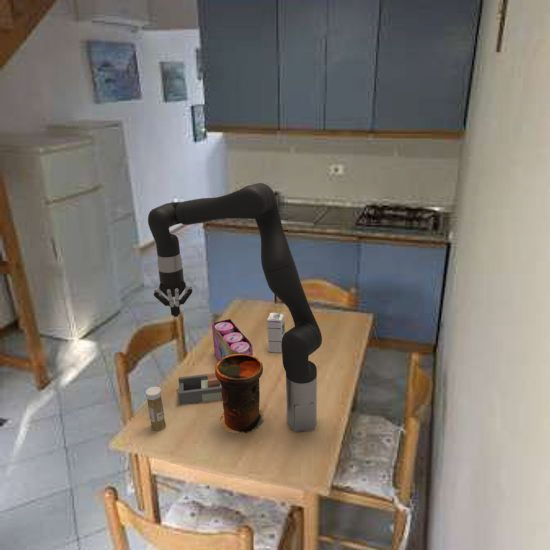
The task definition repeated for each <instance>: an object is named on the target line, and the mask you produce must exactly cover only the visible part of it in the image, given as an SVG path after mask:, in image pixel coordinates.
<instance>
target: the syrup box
mask: <svg viewBox="0 0 550 550" xmlns="http://www.w3.org/2000/svg"><path fill="white" fill-rule="evenodd" d="M285 325H286V324H285V314H284V313H280V312H270V313H269V315H268V316H267V319H266V329H267V344H268V345H267V346H268V352H270V353H276V354H277V353H279V354H282V347H281V342H282V337H283V335H284V334H285V333H286V327H285Z"/></svg>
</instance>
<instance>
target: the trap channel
mask: <svg viewBox="0 0 550 550" xmlns="http://www.w3.org/2000/svg"><path fill="white" fill-rule="evenodd" d="M214 373H215V372H212V373H210V374H214ZM207 374H208V373H203V374H194V375H187V376H180V377H179V376H178V392H177V393H178V402H179V405H180V406H182V405H190V404H197V403H205V402H214V400H215V401H220V400H221V399H222V393H221V388H222V386H221V384H220V386H219V387H211V388H208V378H207ZM221 401H222V400H221Z"/></svg>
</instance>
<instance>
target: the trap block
mask: <svg viewBox="0 0 550 550" xmlns="http://www.w3.org/2000/svg"><path fill="white" fill-rule="evenodd" d="M213 373H214V374H211V373H206V374H207V378H208V388H211V387H219V386H220V381H219V380H218V379H217V378H216V375H215V372H213Z"/></svg>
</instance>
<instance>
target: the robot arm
mask: <svg viewBox="0 0 550 550" xmlns="http://www.w3.org/2000/svg"><path fill="white" fill-rule="evenodd" d="M278 206H279V205H278V202H277V198H276V195H275V192H274V190H273V189H272V188H271V187H270V186H269V185H268V184H267V183H263V182H258V183H252V184H249V185H246V186H243V187H242V188H240V189H237V190H236V191H235V190H234V191H232V192H230V193H228V194H225V195H221V196H215V197H204V198H203V197H202V198H201V197H200V198H195V199H190V200H186V201H174V202H168V203H164V204H161V205H159V206H157V207H155V208H153V209H151V210H149V213H148V216H147V223H148V228H149V230H150V233H151V234H152V237H153V240H154V241H155V246H156V253H157V259H156V261H157V269H158V276H159V286H158V288H157V289H155V290H153V296H154V298H155V299H157V300H158V301H159V302H160V303H161V304H162V305H163V306H165V307H169V308H170V314H171V316H173V317H174V318H176V317H179V316H180V314H181V309H180V306H181V305H183V306H184V304H185V303H186V301H187V300H188V299H189V298H190V296H191V294H192V293H193V287H192V286H188V285H187V282H185V277H184V269H183V260H182V255H181V248H180V241H179V237H178V236H177V234H173V233H171V232H170V228H171V227H173V226H176V225H180V224H181V225H183V226H184V225H185V226H189V225H195V224H201V223H203V224H204V223H206V222H211V221H217V220H223V219H248V220H249V219H250V220H255V223H256V225H257V228H258V232H259V237H260V263H261V267H262V271H263V274H264V278H265V280H266V283H267V287H268V288H269V290H270V291H271V292H272V293H273V294H274V296H275V297H277V298H278V299H279V300H280V301H281V302H282V303H283V304H284V305H285V306H286V308H287V309H288V311H289V312H290V315H291V318H292V321H293V323H294V326H293V327H292V328H290V329H288V331H285V334H284V335H283V337H282V342H281V347H282V353H281V357H282V366H283V368H284V371H285V391H286V393H285V394H286V396H285V397H286V398H285V399H286V402H285V403H286V423H287V425H288V427H289V428H291V429H292V430H294V433H299V432H307V431H313V430H315V429H316V425H317V412H318V410H317V405H318V402H317V401H318V399H317V397H318V396H317V394H318V393H317V392H318V391H317V390H318V388H317V387H318V386H317V385H318V369H317V366H316V364H315V363H314V362H313V361H311V360H309V357H310V356H311V355H312V354H313V353H314V352H316V351H317V350H318V349H319V348H320V347H321V346H322V343H323V337H322V332H321V329H320V326H319V325H318V323H317V322H318V321H317V319H316V318H315V316H314V313H313V312H312V308H311V306H310V304H309V302H308V299H307V296H306V293H305V291H304V287H303V285H302V283H301V279H300V278H301V277H300V275H299V272H298V269H297V265H296V262H295V259H294V256H293V255H292V252H291V248H290V245H289V243H288V240H287V236H286V234H285V231H284V228H283V224H282V220H281V215H280V211H279V207H278ZM183 292H184V294H183V295H182V293H183ZM180 296H182V297H181V298H180ZM166 297H167V298H168V299H167V298H166Z"/></svg>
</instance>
